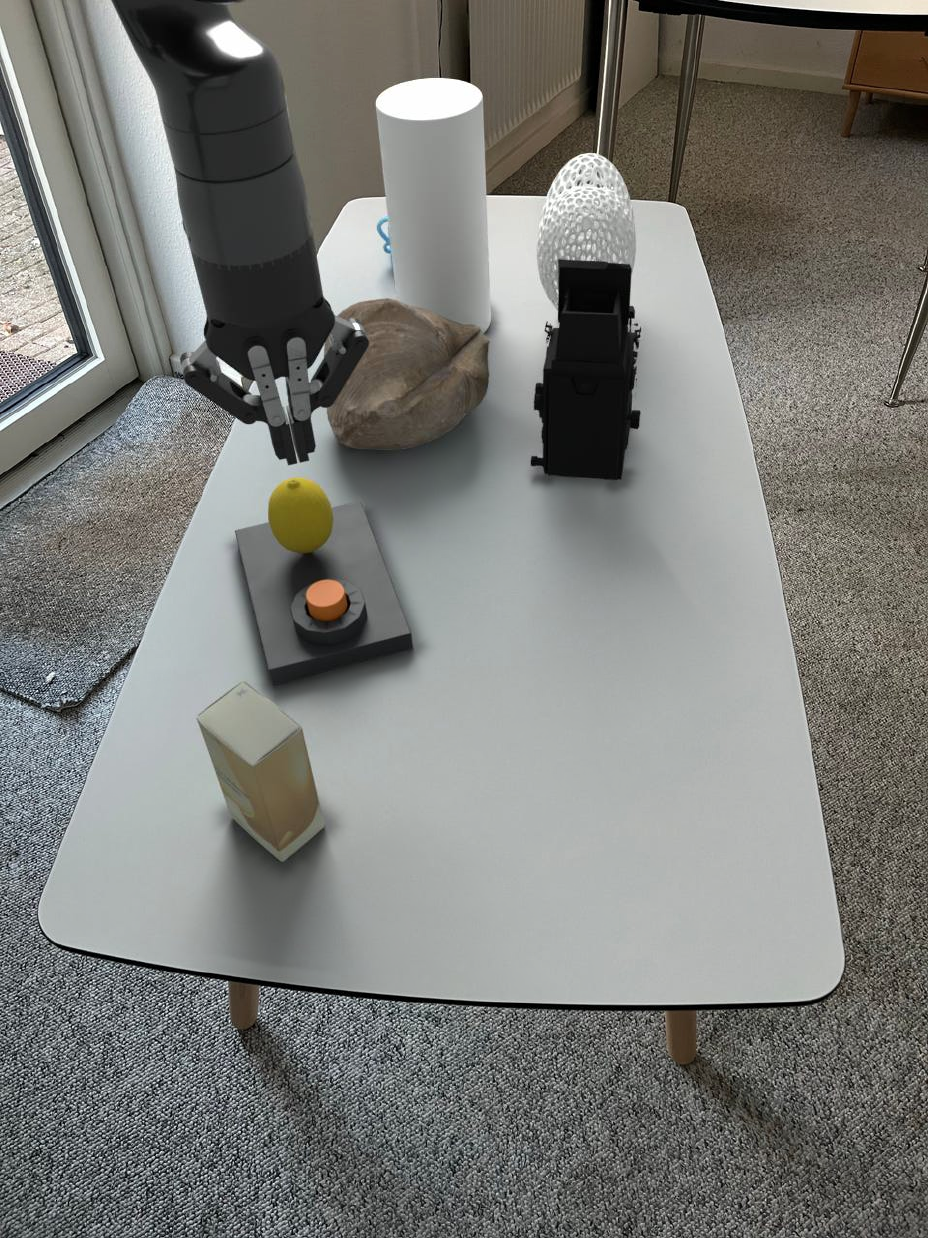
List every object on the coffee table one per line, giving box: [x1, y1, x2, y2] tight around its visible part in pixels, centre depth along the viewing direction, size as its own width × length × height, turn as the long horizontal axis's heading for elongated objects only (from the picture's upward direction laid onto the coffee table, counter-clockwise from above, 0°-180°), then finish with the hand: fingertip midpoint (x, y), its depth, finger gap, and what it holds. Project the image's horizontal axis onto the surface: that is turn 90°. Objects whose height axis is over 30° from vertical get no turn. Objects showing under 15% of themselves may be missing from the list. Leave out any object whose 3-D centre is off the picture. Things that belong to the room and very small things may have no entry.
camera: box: [530, 259, 642, 481], centre depth 100 cm, size 10×14×20 cm
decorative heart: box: [536, 152, 637, 311], centre depth 117 cm, size 18×11×17 cm, turn 175°
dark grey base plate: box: [234, 500, 414, 686], centre depth 93 cm, size 12×18×4 cm, turn 17°
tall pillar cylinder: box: [375, 77, 492, 334], centre depth 115 cm, size 11×11×25 cm
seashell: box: [323, 297, 490, 451], centre depth 108 cm, size 16×17×15 cm
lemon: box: [267, 477, 333, 553], centre depth 93 cm, size 6×6×8 cm
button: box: [306, 580, 347, 621], centre depth 88 cm, size 3×3×2 cm
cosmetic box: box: [195, 680, 326, 863], centre depth 74 cm, size 6×4×12 cm
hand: (296, 456), depth 78 cm, fingers closed
